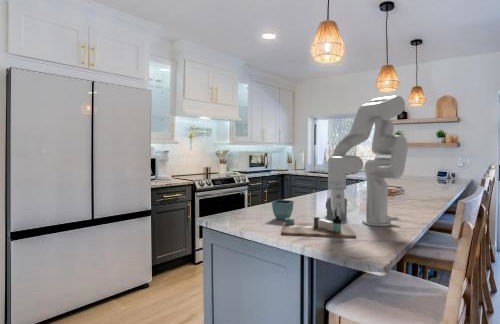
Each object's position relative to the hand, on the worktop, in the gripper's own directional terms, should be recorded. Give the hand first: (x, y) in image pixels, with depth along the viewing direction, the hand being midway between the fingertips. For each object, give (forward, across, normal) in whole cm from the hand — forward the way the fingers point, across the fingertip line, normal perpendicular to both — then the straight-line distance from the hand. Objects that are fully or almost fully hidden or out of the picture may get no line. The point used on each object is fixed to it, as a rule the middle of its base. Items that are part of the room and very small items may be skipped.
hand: (337, 227), depth 135 cm
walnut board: (+2, +1, +8) cm, 9 cm away
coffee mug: (+3, +31, -2) cm, 31 cm away
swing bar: (+1, -2, +3) cm, 4 cm away
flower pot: (+2, +22, +25) cm, 33 cm away
